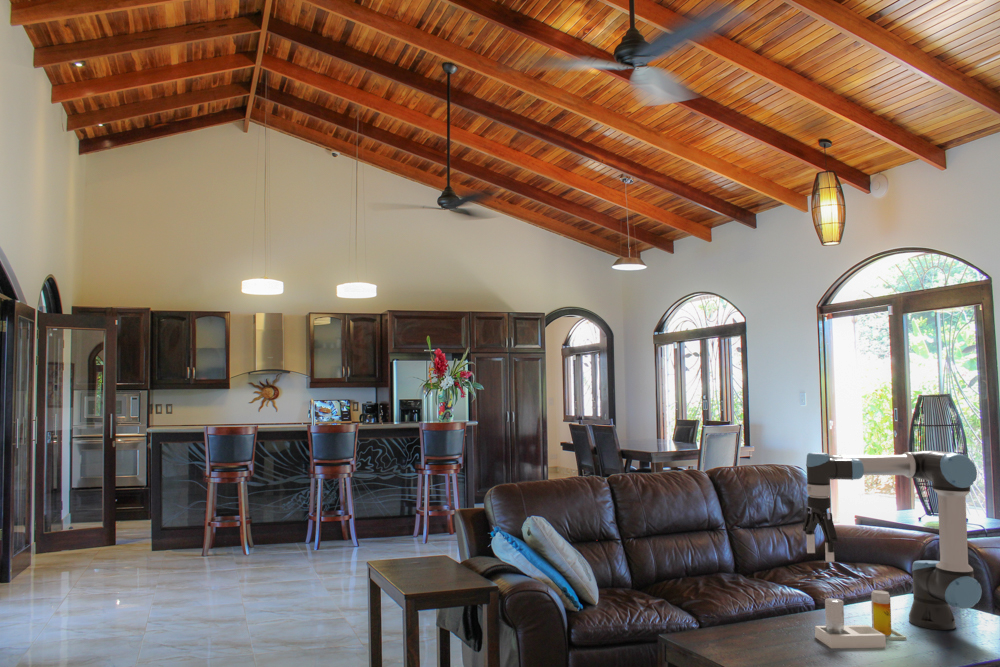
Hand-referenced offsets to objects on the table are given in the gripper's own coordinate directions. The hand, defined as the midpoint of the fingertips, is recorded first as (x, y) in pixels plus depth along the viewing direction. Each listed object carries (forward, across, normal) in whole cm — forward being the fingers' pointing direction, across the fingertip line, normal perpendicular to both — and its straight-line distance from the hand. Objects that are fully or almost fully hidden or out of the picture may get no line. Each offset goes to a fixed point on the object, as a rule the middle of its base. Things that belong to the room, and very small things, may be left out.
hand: (820, 557), depth 266 cm
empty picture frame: (+28, -2, +23) cm, 36 cm away
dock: (+28, +6, +7) cm, 29 cm away
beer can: (+28, -2, +23) cm, 37 cm away
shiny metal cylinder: (+27, +6, +2) cm, 28 cm away
